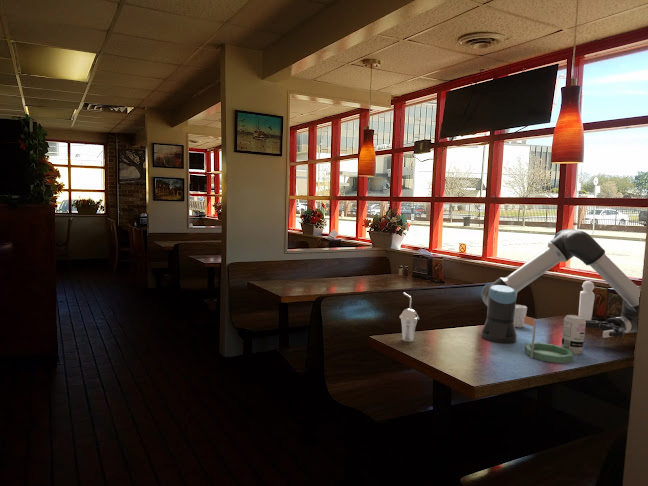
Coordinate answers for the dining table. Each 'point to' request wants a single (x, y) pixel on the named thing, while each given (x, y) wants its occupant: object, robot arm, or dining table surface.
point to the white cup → (519, 315)
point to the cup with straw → (408, 322)
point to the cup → (546, 348)
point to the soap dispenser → (586, 300)
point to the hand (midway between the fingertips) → (588, 330)
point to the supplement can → (573, 333)
